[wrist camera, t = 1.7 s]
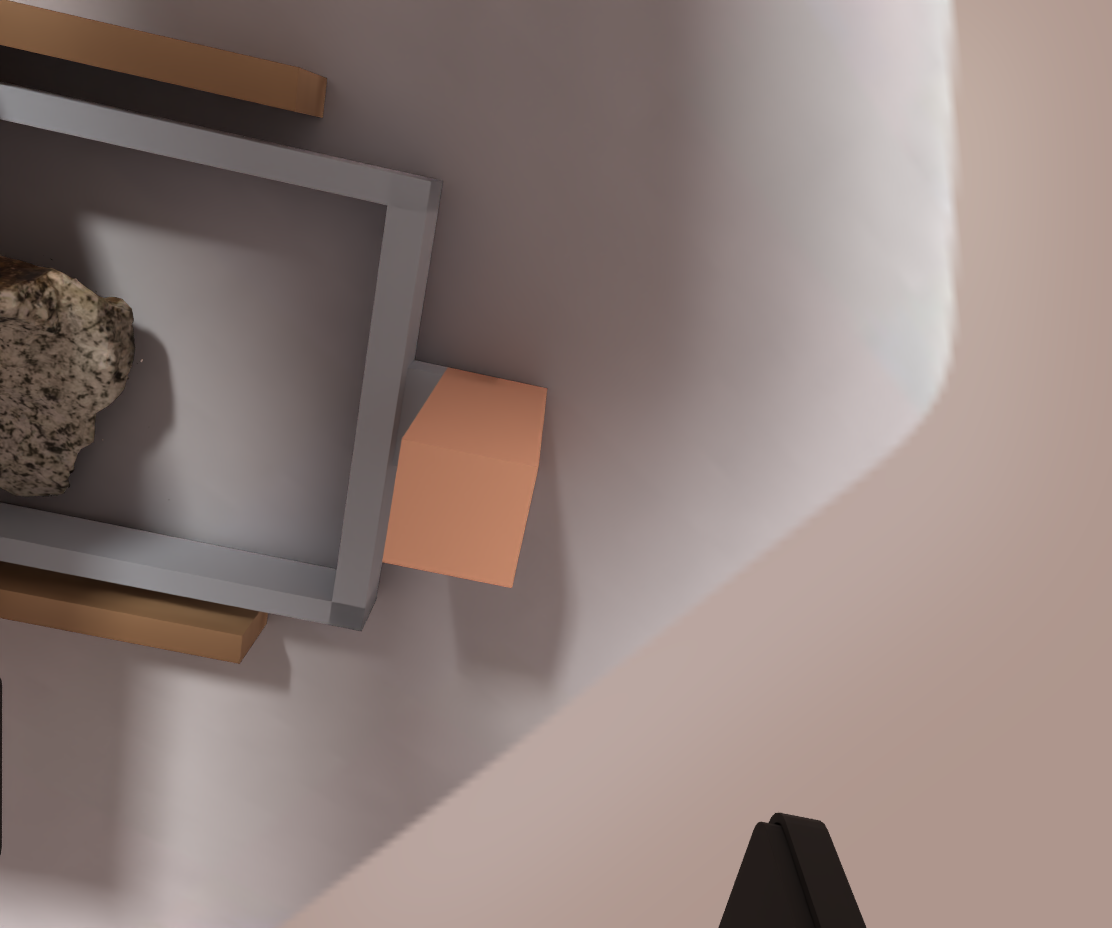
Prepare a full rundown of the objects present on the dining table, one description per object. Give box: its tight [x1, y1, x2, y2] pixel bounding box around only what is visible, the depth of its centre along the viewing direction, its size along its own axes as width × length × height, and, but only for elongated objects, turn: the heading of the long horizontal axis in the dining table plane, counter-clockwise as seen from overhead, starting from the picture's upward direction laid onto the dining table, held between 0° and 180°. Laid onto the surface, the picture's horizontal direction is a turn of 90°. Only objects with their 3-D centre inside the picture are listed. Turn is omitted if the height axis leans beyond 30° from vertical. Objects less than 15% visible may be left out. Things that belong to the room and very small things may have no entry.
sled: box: [0, 81, 547, 631], centre depth 21 cm, size 13×24×7 cm, turn 78°
